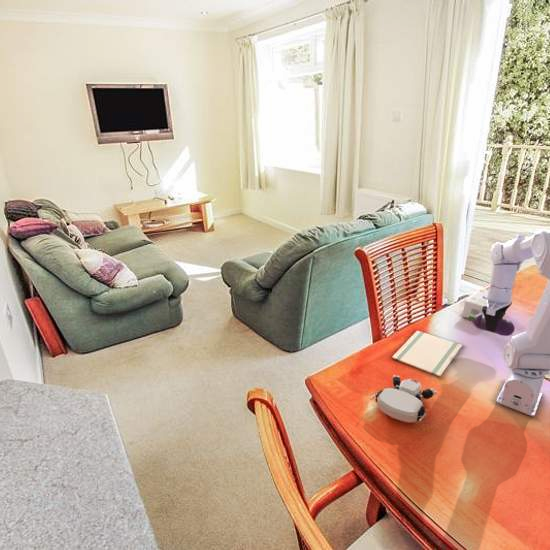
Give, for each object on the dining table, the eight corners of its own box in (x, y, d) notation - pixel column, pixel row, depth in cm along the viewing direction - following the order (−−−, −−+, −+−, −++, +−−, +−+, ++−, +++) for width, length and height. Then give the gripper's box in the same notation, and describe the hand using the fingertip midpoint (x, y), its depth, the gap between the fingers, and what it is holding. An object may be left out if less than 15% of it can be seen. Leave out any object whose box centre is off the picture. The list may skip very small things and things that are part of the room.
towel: (440, 376, 102) (440, 375, 102) (391, 358, 111) (392, 356, 111) (462, 346, 114) (462, 345, 114) (417, 331, 123) (417, 330, 123)
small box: (486, 325, 124) (501, 310, 131) (489, 308, 121) (504, 294, 129) (461, 316, 129) (477, 303, 137) (464, 300, 127) (480, 287, 134)
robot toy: (391, 382, 102) (367, 412, 92) (393, 368, 101) (368, 397, 90) (438, 400, 95) (417, 435, 84) (440, 386, 93) (419, 419, 83)
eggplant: (514, 333, 108) (517, 319, 106) (510, 340, 105) (513, 326, 103) (470, 321, 115) (472, 308, 114) (465, 327, 112) (467, 314, 110)
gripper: (492, 272, 111) (485, 312, 116) (477, 290, 101) (470, 332, 107) (520, 278, 106) (511, 319, 112) (507, 297, 97) (497, 341, 102)
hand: (493, 326), depth 109 cm, fingers closed on eggplant, 4 cm apart
